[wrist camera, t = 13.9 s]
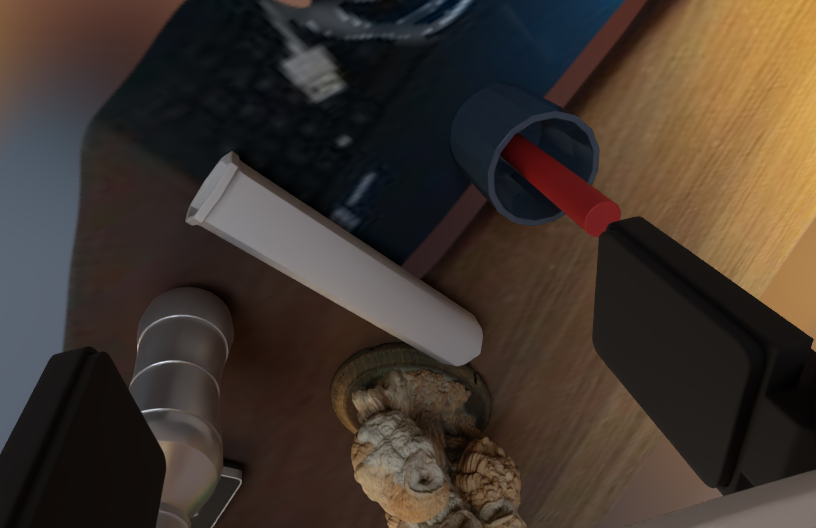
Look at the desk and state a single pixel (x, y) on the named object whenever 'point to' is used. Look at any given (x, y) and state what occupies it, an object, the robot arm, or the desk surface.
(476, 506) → the owl figurine
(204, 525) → the external hard drive
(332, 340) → the desk surface
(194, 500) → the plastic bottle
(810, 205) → the desk surface
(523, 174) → the red cylindrical rod
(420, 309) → the tube
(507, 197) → the tumbler
